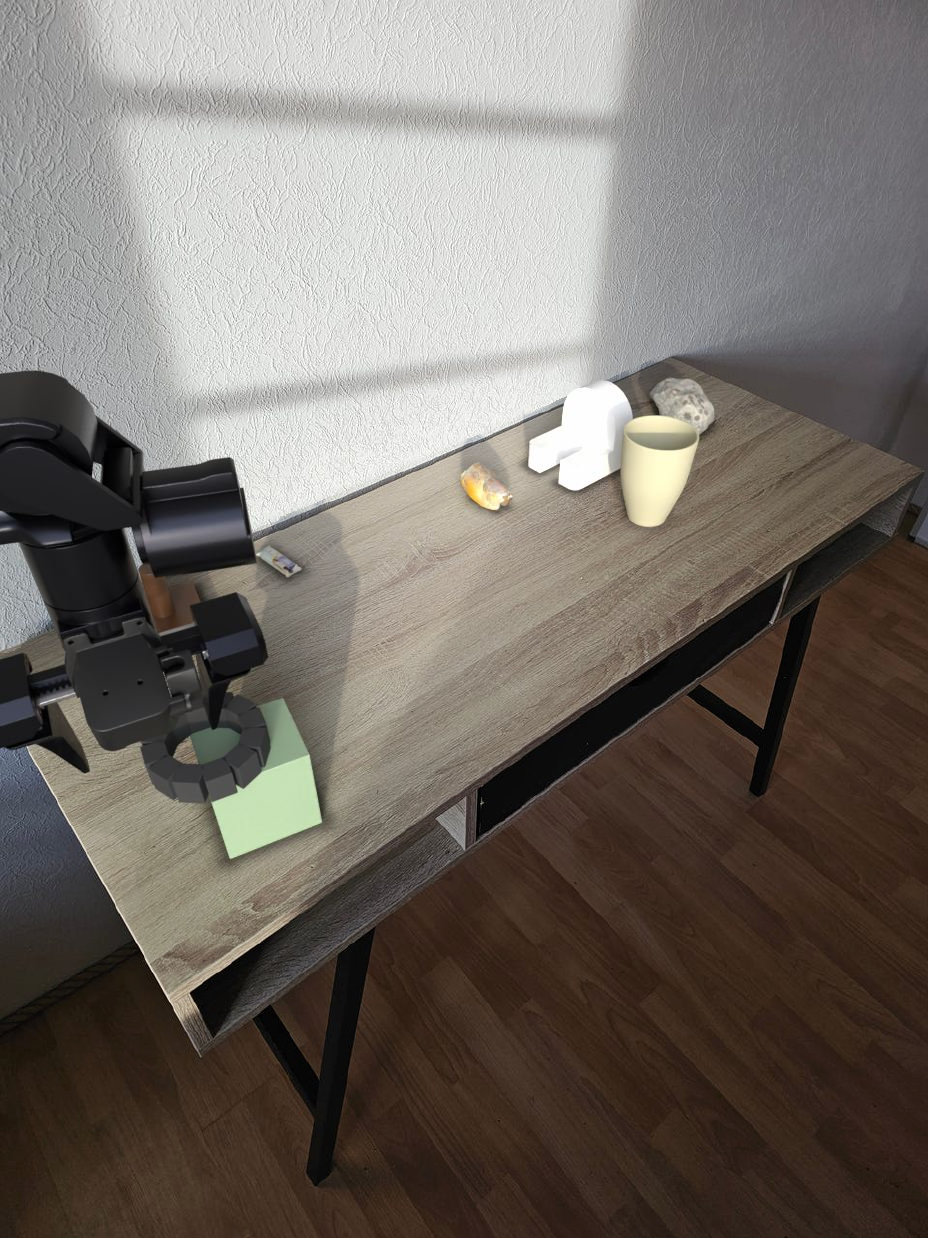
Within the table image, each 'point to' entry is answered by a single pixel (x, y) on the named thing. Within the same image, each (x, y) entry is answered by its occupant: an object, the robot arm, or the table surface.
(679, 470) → the mug
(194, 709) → the chunky treaded tire
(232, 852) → the riser box
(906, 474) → the table surface
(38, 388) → the robot arm
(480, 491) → the shell
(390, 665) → the table surface
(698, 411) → the decorative stone
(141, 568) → the stand
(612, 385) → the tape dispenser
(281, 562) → the granola bar
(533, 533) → the table surface
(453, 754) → the table surface
